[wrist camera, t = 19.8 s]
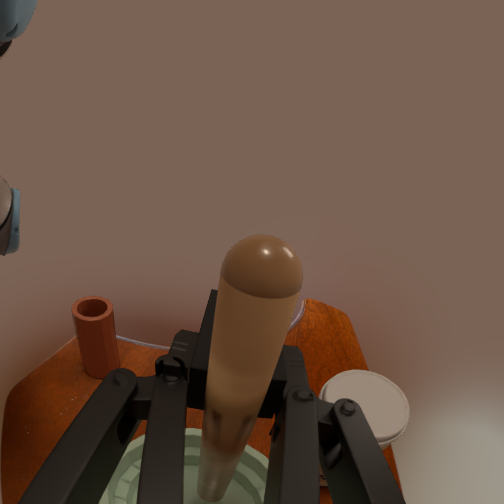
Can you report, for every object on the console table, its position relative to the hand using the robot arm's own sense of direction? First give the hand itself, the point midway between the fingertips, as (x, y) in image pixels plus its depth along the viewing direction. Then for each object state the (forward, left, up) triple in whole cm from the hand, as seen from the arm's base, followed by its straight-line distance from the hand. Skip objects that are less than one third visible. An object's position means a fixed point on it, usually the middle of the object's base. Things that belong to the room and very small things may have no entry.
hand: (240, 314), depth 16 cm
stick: (0, -6, -17) cm, 18 cm away
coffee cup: (+13, +1, -20) cm, 24 cm away
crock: (-17, +11, -20) cm, 29 cm away
